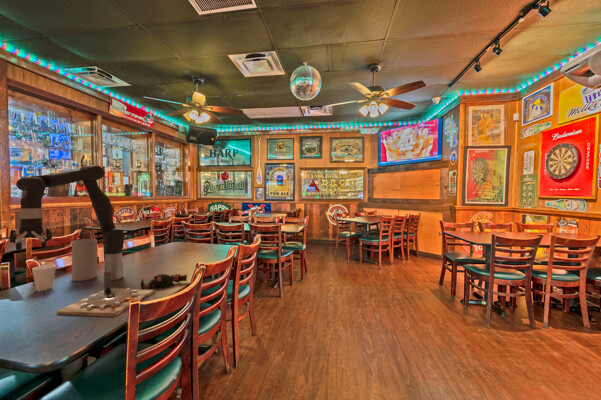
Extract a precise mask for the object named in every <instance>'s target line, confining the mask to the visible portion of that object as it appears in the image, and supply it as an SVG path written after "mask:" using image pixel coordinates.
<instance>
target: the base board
mask: <svg viewBox="0 0 601 400" xmlns="http://www.w3.org/2000/svg"><path fill="white" fill-rule="evenodd" d="M117 288H118V287H117ZM117 288H116V287H111V291H113V290H115V289H117ZM125 289H126V288H120V290H125ZM132 290H137V293H138V296H136V297H131V298H132V300H135V299H140V300H141V301H142V300H144V299H146V298H147V296H148V297H149V296H150V295H151V296H152V295H153V294H154V293H155V289H147V288H144V289H141V288H140V289H139V288H138V289H137V288H131V291H132ZM102 291H104V289H103V290H100V291H98V292H96V293H94V294H95V295H97V294H100V293H102ZM145 297H146V298H145ZM143 298H144V299H143ZM84 299H89V296H87V297H85V298H84ZM82 300H83V299H80V300H78V301H76V302H74V303H72V304H70V305H67V306H65V307H63V308H61V309H58V310H56V314H57V315H67V316H68V315H70V316H91V317H92V316H93V317H113V318H116V316H118V315H119V314H122V313H123V312H125V311H127V310H129V301H124V302H122V303H120V305H118V306H115V304H114V305H111V306H106V307H105V308H104V309H100V307H94V308H92V309H90V310H88V309H86V307H87V306H85V307H80V304H82V303H81V301H82Z"/></svg>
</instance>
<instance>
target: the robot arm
mask: <svg viewBox="0 0 601 400" xmlns="http://www.w3.org/2000/svg"><path fill="white" fill-rule="evenodd" d="M104 177H105V170H104V168H103V167H102V166H100V165H97V164H91V165H84V166H83V165H82V166H81V167H80V168H79V169H78V170H77V169H76V170H68V171H59V172H54V173H48V174H42V175H31V176H25V177H21V178H19V179H18V180H16V183H15V186H16V188H17V189H19V190H20V191H23V192H26V194H25V196H22V197H21V198H20V211H19V229H12V230H10V232H9V242H10V243H13V244H15V250H16V251H18V252H22V251H23V241H24V240H25V239H29V238H30V239H31V238H32V239H35V238H37V239H38V240H40V241H41V242H40V243H41V245H40V246H41V250H45V249H46V248H47V247H48V246H47V245H48V241H51V240H52V239H53V235H52V228H51V227H49V228H43V209H42V207H43V205H42V203H43V202H42V199H43V197H44V194H45V191H46V188H55V187H60V186H65V185H69V184H74V183H77V182H81V181H82V184H83V185H84V187H85V189H86V192H87V195H88V196H89V199H90V202H91V203H90V204H91V206H92V208H93V211H94V213H95V216H96V219H97V221H98V223H99V226H100V232H101V237H102V239H103V240H104V241H105V242H107V244H106V248H105V249H104V272H106V271H111V282H112V281H117V280H120V279H122V278H123V277H124V262H123V248H124V245H125V244H124V240H125V239H124V238H125V235H124V232H123V231H122V230H121V229H118V228H116V226H115V224H114V220H113V206H112V202H111V199H110V198H109V197H108V195H107V194H106V193H105V192H104V191H103V190H102V189H101V188H100V186H99V184H98V182H97V180H101V179H103V178H104ZM43 232H44V233H45V235H43ZM18 234H20V236H19V237H17V235H18Z"/></svg>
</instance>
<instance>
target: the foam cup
mask: <svg viewBox="0 0 601 400" xmlns="http://www.w3.org/2000/svg"><path fill="white" fill-rule="evenodd" d="M56 269H57V265H56V264H45V265H39V266H36V267H32V269H31V270H32V277H33V280H34V285H35V289H36V291H37V290H38V291H37V292H43V291H42V290H45V291H48V290H47V289H49V290H51V289H53V285H54V279H55V275H56ZM50 288H51V289H50Z"/></svg>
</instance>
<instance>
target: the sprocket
mask: <svg viewBox="0 0 601 400" xmlns="http://www.w3.org/2000/svg"><path fill="white" fill-rule="evenodd" d="M111 288H112V281H111V271H106V272H105V271H104V272H103V290H104V291H103V290H101V291H102V293H100V294H97V295H95V294H96V293H93V294H90V295H89V296H88V297H89V299H85V298H83V299H81V300H82V301H81V303H82V304H80V307H85V306H87V307H86V309H88V310H90V309H92V308H94V307H100V309H104V308H105V307H106V306H111V305H114V304H115V306H118V305H120V303H122V302H124V301H130V300H132V298H131V297H136V296H138V293H137V290H132V291H131V289H132V287H127V288H124V289H125V290H120V289H121V287H117V289H115V290H113V291H111Z"/></svg>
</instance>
